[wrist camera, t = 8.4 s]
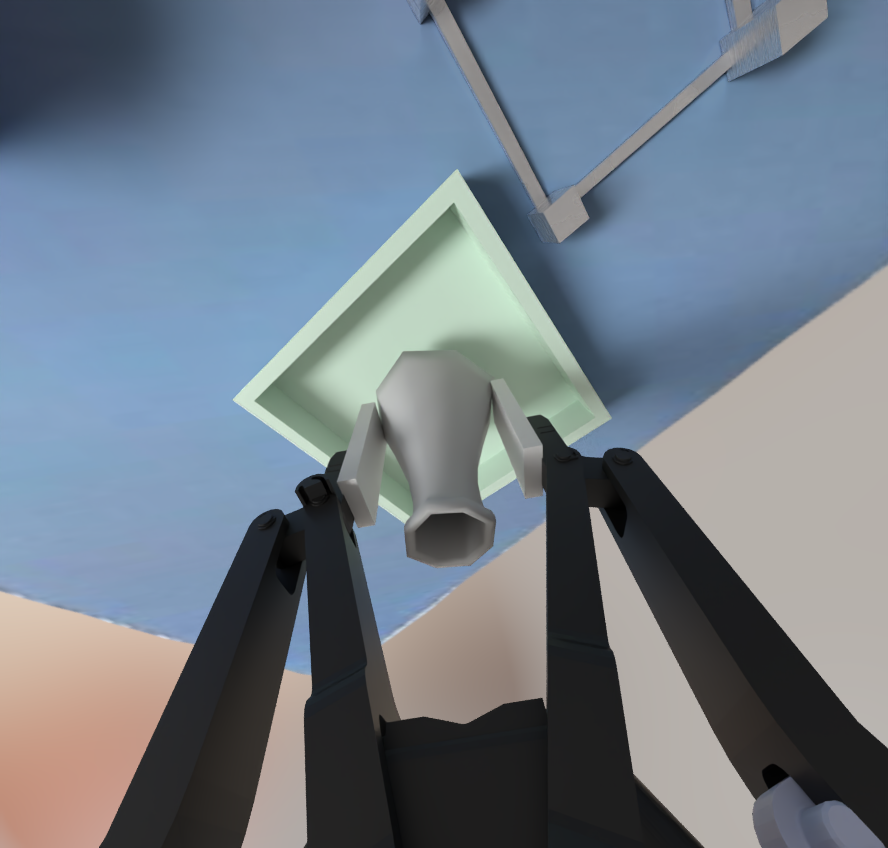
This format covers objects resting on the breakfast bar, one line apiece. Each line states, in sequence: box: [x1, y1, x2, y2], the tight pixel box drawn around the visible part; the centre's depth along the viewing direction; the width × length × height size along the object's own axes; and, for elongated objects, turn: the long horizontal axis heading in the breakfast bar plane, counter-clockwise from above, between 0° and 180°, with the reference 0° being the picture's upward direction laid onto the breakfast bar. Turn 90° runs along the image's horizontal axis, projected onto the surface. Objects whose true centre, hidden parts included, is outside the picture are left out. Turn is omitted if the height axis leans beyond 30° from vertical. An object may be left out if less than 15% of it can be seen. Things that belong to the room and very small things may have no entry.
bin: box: [233, 169, 612, 523], centre depth 20 cm, size 16×16×3 cm
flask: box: [376, 350, 496, 568], centre depth 15 cm, size 7×7×10 cm
